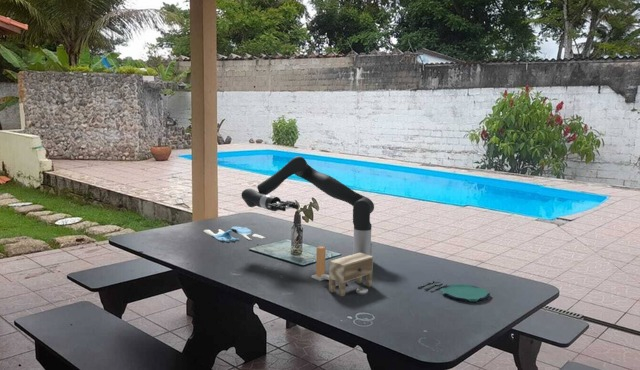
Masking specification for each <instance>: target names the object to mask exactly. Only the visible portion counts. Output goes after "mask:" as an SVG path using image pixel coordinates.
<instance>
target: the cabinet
mask: <svg viewBox="0 0 640 370" xmlns="http://www.w3.org/2000/svg"><path fill="white" fill-rule="evenodd" d="M373 265H374V256H373V255H372V256H370V255H366V254H363V253H356V254H353V253H352V254H349V255H346V256H342V257H340V258H336V259H335V258H334V259H332V260H329V269H328V270H329V273H328V275H329V280H328V292H330V293H335V292H336V286H335V281H338V282H339V285H338V296H340V297H344V296H346V283H347V282H350V281H353V280H355V283H356V284H361V283H363V277H365V287H369V288H370V287H372V286H373V269H374V267H373ZM345 282H346V283H345Z"/></svg>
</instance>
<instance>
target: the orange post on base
mask: <svg viewBox="0 0 640 370" xmlns="http://www.w3.org/2000/svg"><path fill="white" fill-rule="evenodd" d="M326 249H327V248H326V247H325V246H322V245H319V246H317V247H316V256H315V257H316V258H315V259H316V260H315V261H316V262H315V263H316V264H315V274H312V275H311V278H312V279H314V280H317V281H319V282H321V281H324V280H328V281H329V274H327V273H326ZM345 284H347V282H345ZM335 287H339V282H338V281H335Z"/></svg>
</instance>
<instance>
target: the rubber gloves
mask: <svg viewBox="0 0 640 370" xmlns="http://www.w3.org/2000/svg"><path fill="white" fill-rule="evenodd" d="M233 230H236V234H238V235H240V236H242V237H243V238H244V239H246V240H248V241H253V239H252V238H250V237H249V236H248V235H251V234H252V235H251V236H252V237H255V238H259V239H266V236H263V235H260V234H257V233H253V231H252V230H251V229H249V228H248V227H246V226H245V227H243V226H234V225H233V226H232V227H230V229H229V230H227V231H224V230H222V229H218V232H216V233H214V232H213V231H212V230H211V229H204V230H203V233H205V234H207V235H208V236H211V237H213V238H214V240H217V241H220V242H226V243H230V242H238V241H240V238H238V237H237V238H235V237H233V236H232V234H231V233H232V232H233Z"/></svg>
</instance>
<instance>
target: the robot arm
mask: <svg viewBox="0 0 640 370" xmlns="http://www.w3.org/2000/svg"><path fill="white" fill-rule="evenodd" d="M293 175H295V176H296V177H298V178H300V179H302V180H303V179H304V180H305V181H307V182H308V183H311V184H312V185H314V187H316V188H317V189H319V190H320V191H321V192H324V194H326V195H328V196H329V197H331V198H333V199H336V200H339V201H342V202H344V203H346V204H347V203H348V204H349V205H351V206H352V224H353V243H352V244H353V247H352V255H353V254H356V253H363V254H366V255H370V256H373V243H372V227H373V226H372V223H371V213H373V212H374V210H375V204H374V202H373V200H372V199H370V198H368V197H367V196H365V195H362V194H360V193H358V192H356V191H354V190H353V189H351V188H350V187H348V186H347V185H345V184H344V183H343V182H341V181H339V180H337V179H336V178H334V177H332V176H331V175H329V174H326V173H323V172H320V171H318V170H316V169H315V168H313V167H312V166H310V165H309V163H307V160H306V159H305V158H304V157H303V156H295V157H293V158H292V159H291V160H290V161H288V162H287V163H286V164H285V165H284V166H283V167H282V168H280V169H279V170H278V171H277V172H276V173H274V174H272V175H271V176H270V177H267V179H265V180H264V181H262V182H261V183H259V184H258V185H257V187H256V188H257V190H258V191H257V190H255V189H254V188H253V189H252V188H245V189H244V190H243V191H242V192H241V198H242V200H243V202H244V203H245V204H246V205H247V206H248V207H250V208H254V207H258V208H262V209H264V210H267V211H272V212H277V211H282V212H286V210H287V209H288V210H289V209H295V210H299V204H296V202H294V201H290V200H286V201H283V200H281V198H280V197H278V196H274V195H271V194H270V193H272V192H273V191H275V190H276V189H277V188H278V187H280V185H281V184H282V183H284V181H286V180H287V179H288V178H290V177H291V176H293Z"/></svg>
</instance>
